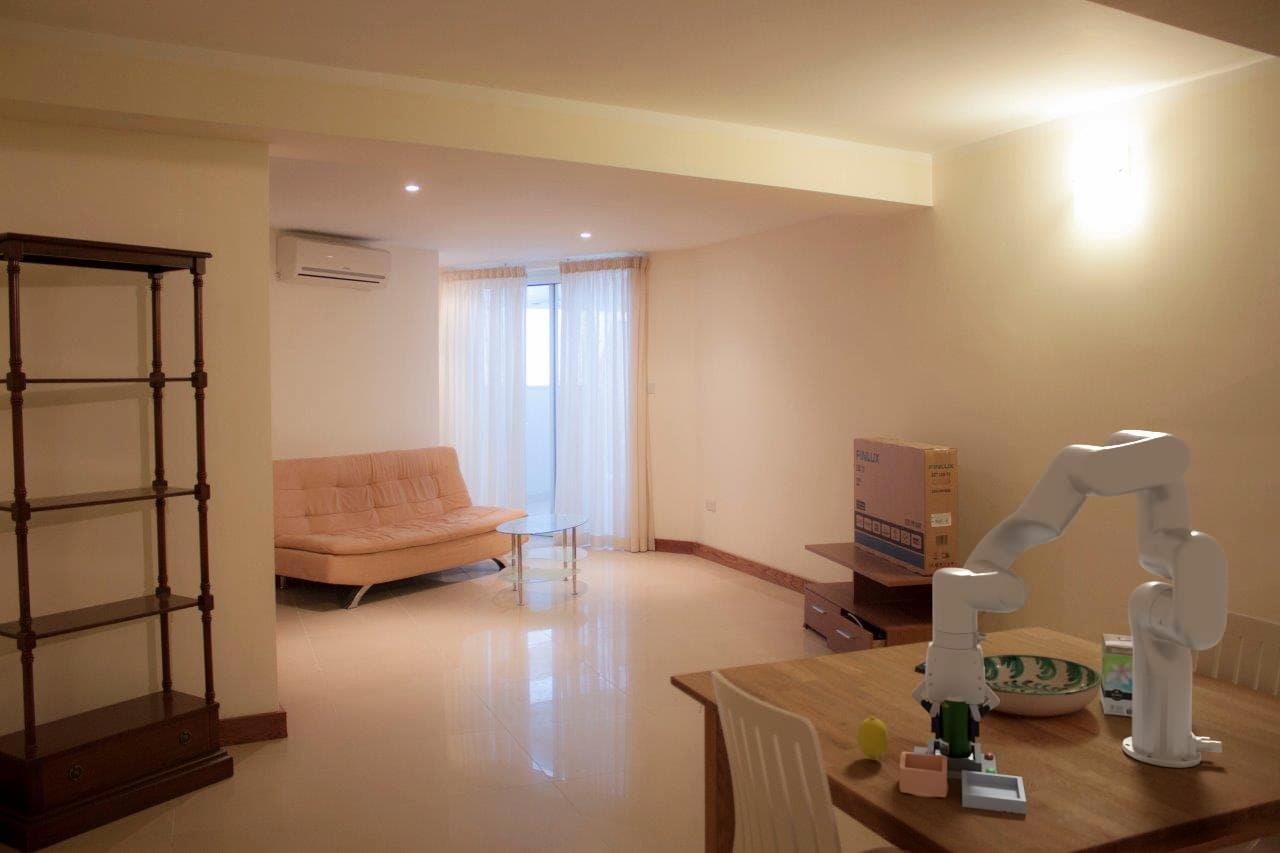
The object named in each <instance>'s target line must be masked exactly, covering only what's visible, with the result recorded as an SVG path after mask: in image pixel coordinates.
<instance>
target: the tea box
mask: <svg viewBox="0 0 1280 853" xmlns="http://www.w3.org/2000/svg"><path fill="white" fill-rule="evenodd" d="M1100 652H1101V655H1100V656H1101V658H1100V680H1101V685H1100V691H1099V692H1100V693H1099V699H1100V700H1099V701H1100V702H1101V706H1102V709H1103V714H1104V715H1115V716H1124V717H1131V718H1132V676H1133V645H1132V635H1123V634H1112V633H1102V634H1101V650H1100Z"/></svg>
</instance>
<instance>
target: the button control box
mask: <svg viewBox="0 0 1280 853" xmlns="http://www.w3.org/2000/svg"><path fill="white" fill-rule="evenodd" d="M936 748H939V739H938V740H937V739H935V738H928V739H927V747H925V746H914V749H913V752H914V753H923V754H933V755H935V752H936ZM981 748H982V747H981V743H980V742H979V743H978V742H977V743H976V742H975V743H972V742H971V752H973V760H968V759H958V758H949V757H946V758H947V779H957V780H962V770H965V771H974V772H983V773H992V774H998V772H997V764H996V756H995V754H994V753H993V752H984V753H982V749H981Z"/></svg>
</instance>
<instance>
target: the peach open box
mask: <svg viewBox="0 0 1280 853" xmlns="http://www.w3.org/2000/svg"><path fill="white" fill-rule="evenodd" d="M898 784H899V791H900V793H905V794H909V795H913V796H914V797H921V798H938V797H939V798H946V797H947V796H948V792H949V784H948V778H947V758H946V756H942V755H933V754H923V753H914V751H905V750H904V751H902V752H900V761H899V783H898Z"/></svg>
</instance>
